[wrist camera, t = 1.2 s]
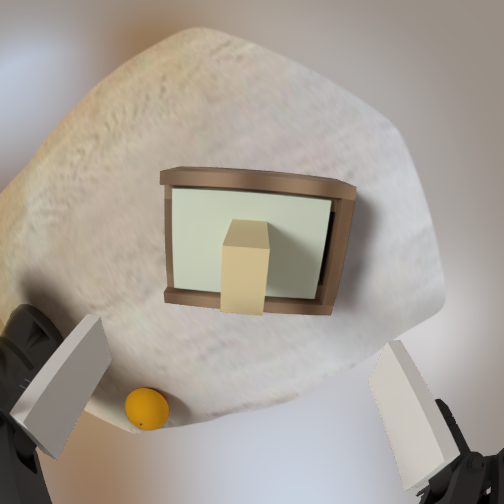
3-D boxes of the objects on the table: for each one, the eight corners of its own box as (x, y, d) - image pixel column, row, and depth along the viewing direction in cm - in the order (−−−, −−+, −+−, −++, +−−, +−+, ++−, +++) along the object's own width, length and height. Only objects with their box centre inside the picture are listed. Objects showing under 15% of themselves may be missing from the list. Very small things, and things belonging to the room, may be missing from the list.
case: (180, 275, 32) (164, 302, 26) (180, 166, 28) (160, 171, 22) (319, 285, 33) (331, 315, 26) (336, 179, 28) (356, 187, 22)
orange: (135, 402, 43) (124, 431, 36) (128, 376, 40) (113, 407, 33) (174, 411, 43) (166, 442, 36) (170, 386, 40) (160, 420, 33)
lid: (176, 284, 27) (151, 328, 20) (174, 187, 24) (140, 204, 16) (313, 294, 27) (329, 343, 20) (329, 199, 24) (358, 221, 16)
